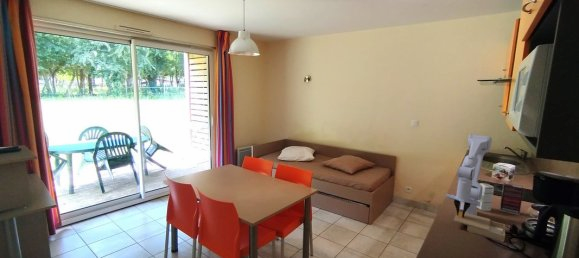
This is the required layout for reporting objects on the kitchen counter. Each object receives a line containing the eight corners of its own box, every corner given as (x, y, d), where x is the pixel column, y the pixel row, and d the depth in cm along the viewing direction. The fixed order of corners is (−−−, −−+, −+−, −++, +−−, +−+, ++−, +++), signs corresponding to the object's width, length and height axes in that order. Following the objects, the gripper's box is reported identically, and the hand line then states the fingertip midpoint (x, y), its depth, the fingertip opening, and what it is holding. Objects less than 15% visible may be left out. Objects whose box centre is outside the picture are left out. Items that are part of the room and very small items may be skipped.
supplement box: (518, 212, 151) (523, 185, 148) (519, 215, 147) (524, 188, 144) (499, 208, 156) (503, 182, 153) (499, 211, 152) (503, 184, 149)
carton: (470, 220, 139) (470, 215, 138) (504, 230, 130) (505, 224, 130) (466, 231, 128) (467, 225, 128) (503, 242, 119) (504, 236, 119)
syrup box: (491, 211, 151) (495, 186, 149) (481, 210, 151) (485, 186, 149) (483, 206, 157) (487, 183, 155) (473, 206, 157) (477, 183, 154)
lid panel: (457, 211, 142) (458, 205, 141) (490, 220, 133) (491, 213, 133) (453, 221, 131) (454, 214, 131) (488, 231, 122) (489, 223, 122)
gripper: (446, 188, 135) (442, 213, 137) (481, 196, 126) (477, 223, 128) (448, 184, 140) (445, 209, 142) (482, 192, 131) (478, 217, 133)
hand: (460, 215), depth 135 cm, fingers closed on lid panel, 2 cm apart
